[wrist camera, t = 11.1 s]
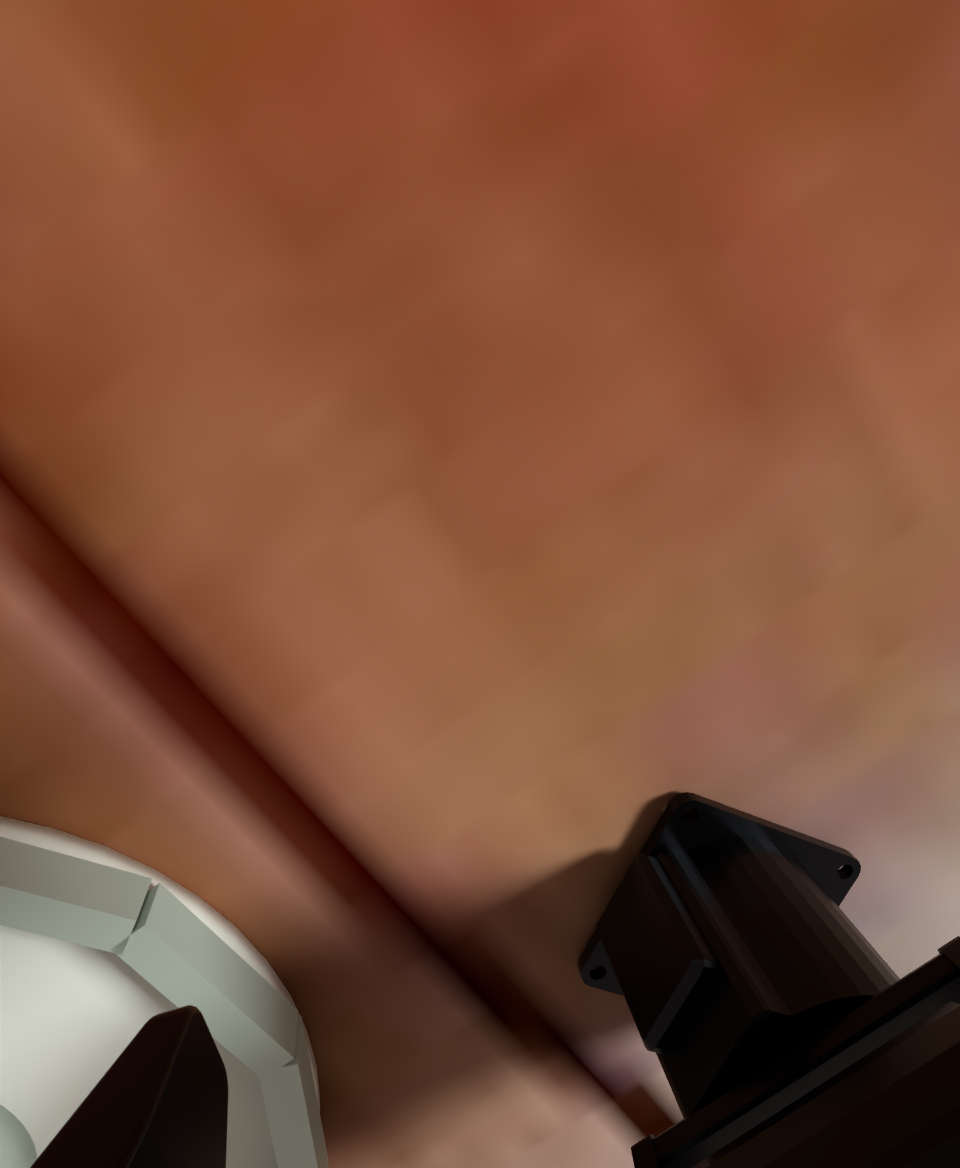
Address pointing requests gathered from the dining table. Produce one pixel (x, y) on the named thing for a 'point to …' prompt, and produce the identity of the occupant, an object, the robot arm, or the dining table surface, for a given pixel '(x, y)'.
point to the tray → (136, 997)
